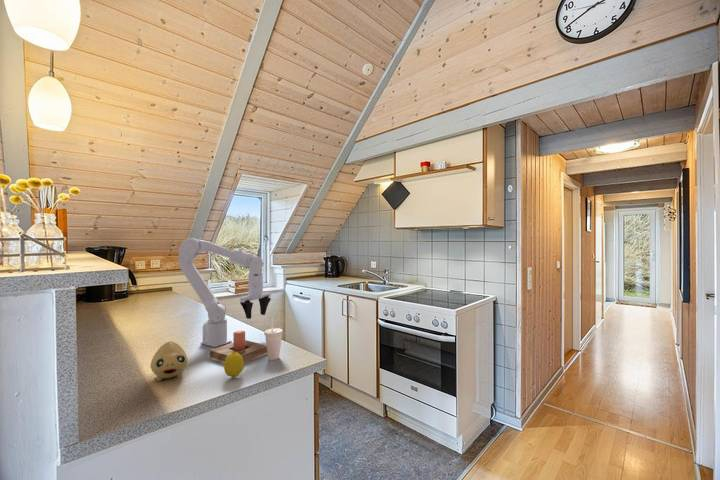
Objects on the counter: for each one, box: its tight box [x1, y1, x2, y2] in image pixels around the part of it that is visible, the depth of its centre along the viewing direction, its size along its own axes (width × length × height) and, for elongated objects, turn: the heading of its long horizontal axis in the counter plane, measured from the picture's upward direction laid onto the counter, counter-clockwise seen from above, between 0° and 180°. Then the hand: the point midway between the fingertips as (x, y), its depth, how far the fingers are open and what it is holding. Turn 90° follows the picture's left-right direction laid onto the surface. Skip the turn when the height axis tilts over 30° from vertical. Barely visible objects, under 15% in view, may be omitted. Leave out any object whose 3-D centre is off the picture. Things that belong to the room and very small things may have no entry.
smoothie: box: [263, 318, 284, 361], centre depth 115 cm, size 6×6×14 cm
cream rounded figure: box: [149, 341, 189, 381], centre depth 99 cm, size 10×12×11 cm
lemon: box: [223, 352, 245, 379], centre depth 98 cm, size 6×6×8 cm
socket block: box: [209, 339, 268, 364], centre depth 117 cm, size 14×14×3 cm
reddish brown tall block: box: [232, 330, 246, 351], centre depth 117 cm, size 4×4×8 cm
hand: (256, 316), depth 137 cm, fingers open, 7 cm apart
